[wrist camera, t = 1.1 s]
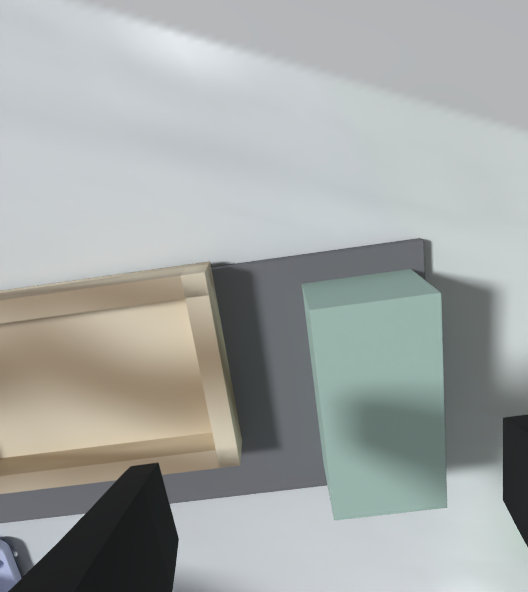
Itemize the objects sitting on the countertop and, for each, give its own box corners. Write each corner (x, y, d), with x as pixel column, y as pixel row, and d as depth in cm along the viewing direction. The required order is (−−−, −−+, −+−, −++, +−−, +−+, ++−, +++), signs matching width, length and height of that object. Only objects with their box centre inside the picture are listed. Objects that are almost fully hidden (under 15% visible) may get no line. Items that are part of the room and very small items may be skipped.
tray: (242, 440, 19) (240, 465, 17) (-30, 473, 19) (-55, 500, 18) (210, 261, 17) (204, 272, 15) (-96, 303, 17) (-132, 318, 16)
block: (419, 454, 19) (446, 507, 16) (323, 465, 19) (334, 520, 16) (410, 269, 17) (441, 292, 14) (301, 283, 17) (309, 310, 14)
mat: (429, 466, 20) (432, 473, 19) (-19, 518, 20) (-24, 526, 20) (419, 238, 17) (423, 240, 16) (-103, 310, 18) (-111, 313, 17)
